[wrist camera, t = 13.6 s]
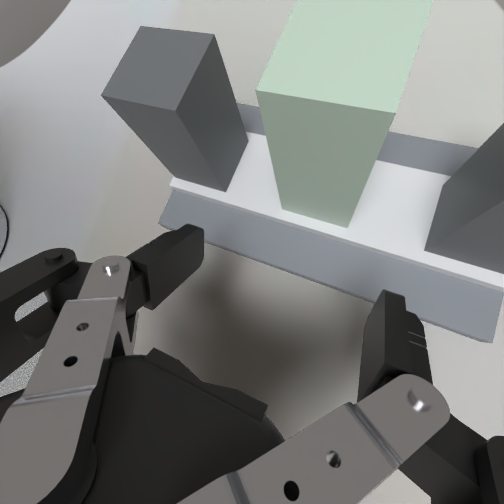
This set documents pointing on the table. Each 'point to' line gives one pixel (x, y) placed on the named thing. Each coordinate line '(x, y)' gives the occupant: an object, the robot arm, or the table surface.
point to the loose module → (335, 98)
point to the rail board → (308, 229)
